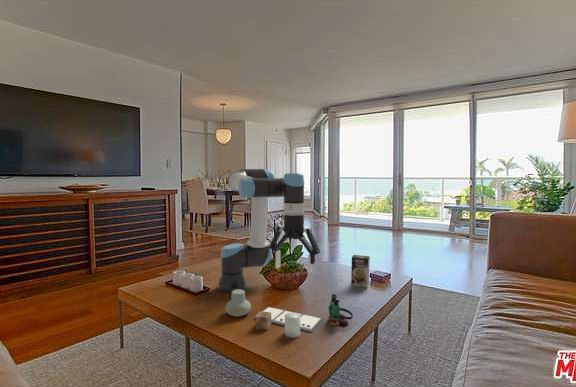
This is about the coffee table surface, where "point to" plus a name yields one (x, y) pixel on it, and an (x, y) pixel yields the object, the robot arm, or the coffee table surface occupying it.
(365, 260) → the coffee box
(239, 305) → the air freshener
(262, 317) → the walnut block
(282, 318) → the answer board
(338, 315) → the binoculars
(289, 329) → the pale green capsule
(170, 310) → the coffee table surface
